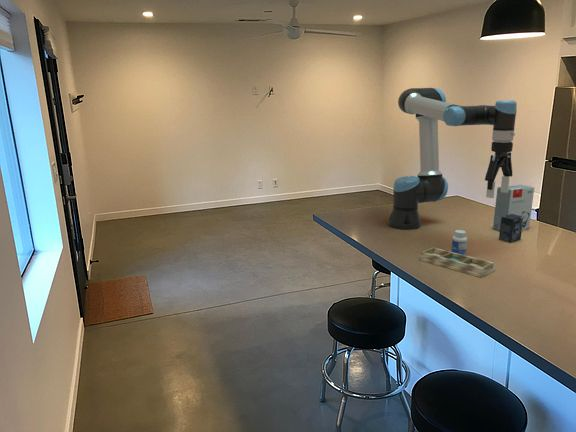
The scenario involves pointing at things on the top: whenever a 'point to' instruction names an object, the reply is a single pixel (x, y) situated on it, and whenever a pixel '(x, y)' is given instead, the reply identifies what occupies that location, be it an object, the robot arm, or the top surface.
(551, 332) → the top surface
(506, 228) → the box
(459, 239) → the pill bottle
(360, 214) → the top surface
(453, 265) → the three-compartment tray
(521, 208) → the hard drive box
